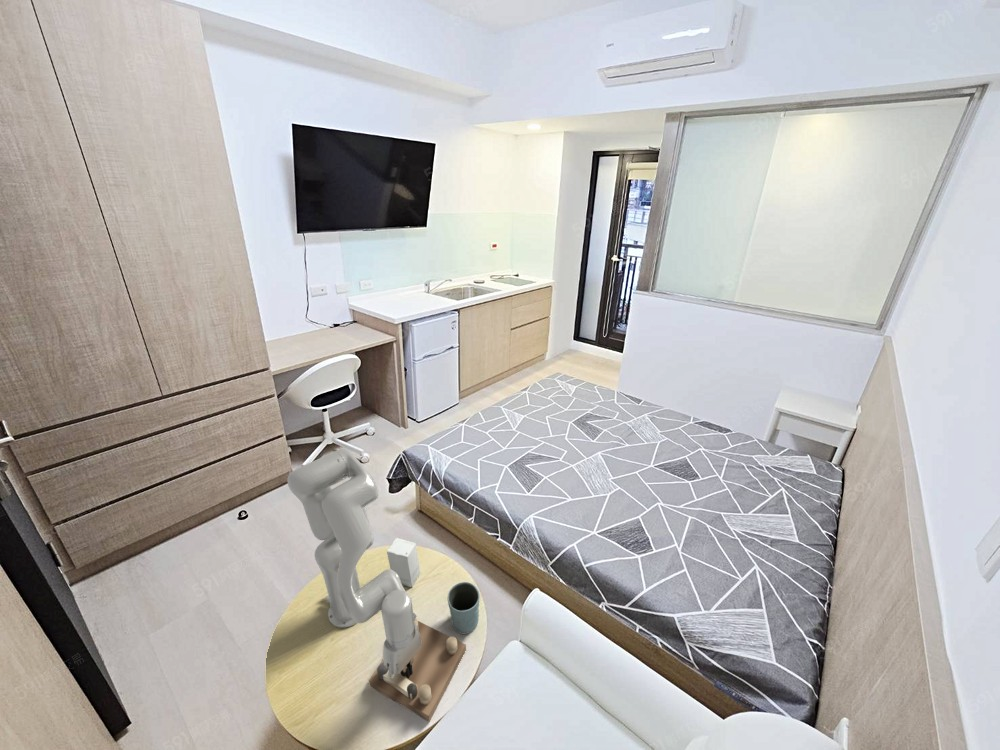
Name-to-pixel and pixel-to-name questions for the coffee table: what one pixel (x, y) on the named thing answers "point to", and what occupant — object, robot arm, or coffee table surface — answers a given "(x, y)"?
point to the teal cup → (464, 607)
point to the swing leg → (398, 682)
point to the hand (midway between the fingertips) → (406, 672)
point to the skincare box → (404, 561)
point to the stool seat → (427, 671)
